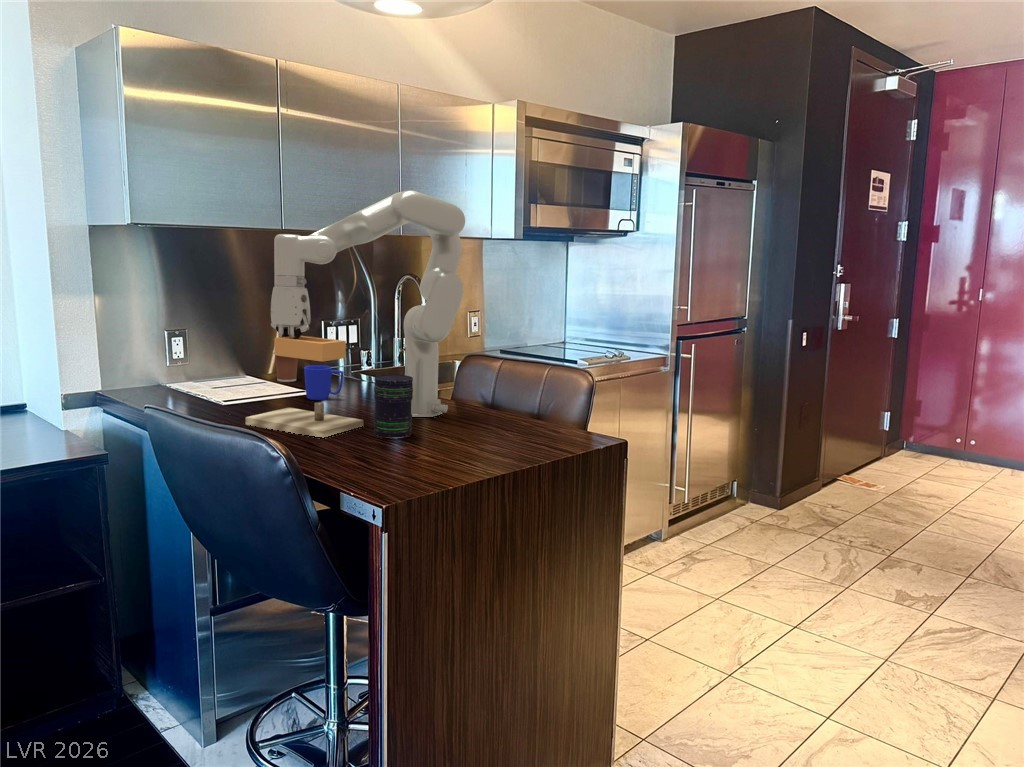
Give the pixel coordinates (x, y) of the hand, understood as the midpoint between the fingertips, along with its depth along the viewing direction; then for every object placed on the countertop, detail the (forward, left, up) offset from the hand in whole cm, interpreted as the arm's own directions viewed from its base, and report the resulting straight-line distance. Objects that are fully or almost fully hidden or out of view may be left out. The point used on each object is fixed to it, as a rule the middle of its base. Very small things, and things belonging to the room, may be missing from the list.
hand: (289, 351), depth 200 cm
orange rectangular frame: (-7, 0, -1) cm, 7 cm away
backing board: (-6, +1, -19) cm, 20 cm away
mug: (+14, -30, -19) cm, 38 cm away
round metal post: (-10, 0, -17) cm, 20 cm away
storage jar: (-30, -5, -19) cm, 36 cm away
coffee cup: (+46, -48, -19) cm, 69 cm away
